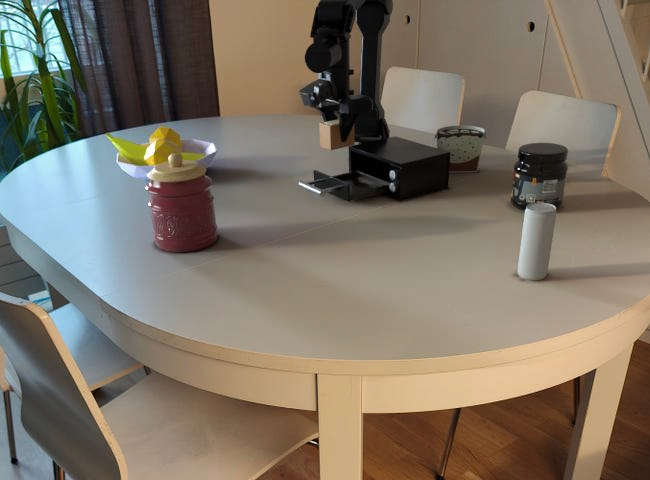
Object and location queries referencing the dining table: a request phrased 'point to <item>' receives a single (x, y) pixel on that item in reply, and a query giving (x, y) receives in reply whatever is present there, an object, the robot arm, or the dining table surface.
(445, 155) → the toaster oven
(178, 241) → the kitchen canister
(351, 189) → the tray
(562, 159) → the supplement container
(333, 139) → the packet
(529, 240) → the beverage can
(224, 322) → the dining table surface
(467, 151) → the food container
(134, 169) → the fruit bowl
